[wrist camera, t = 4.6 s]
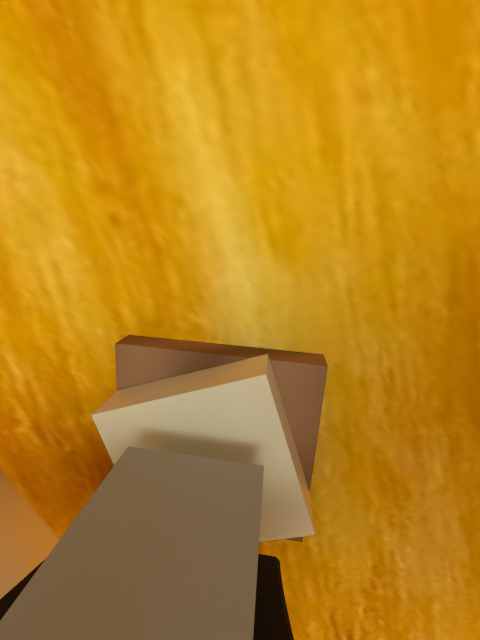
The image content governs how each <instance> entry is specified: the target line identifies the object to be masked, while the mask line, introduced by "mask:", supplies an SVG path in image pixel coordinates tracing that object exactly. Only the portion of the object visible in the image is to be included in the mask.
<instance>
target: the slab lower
mask: <svg viewBox="0 0 480 640" xmlns="http://www.w3.org/2000/svg"><path fill="white" fill-rule="evenodd" d="M115 351H116V376H117V390H121V389H125V388H130V387H134V386H138V385H142V384H146V383H150V382H154V381H158V380H162V379H167V378H171V377H175V376H179V375H183V374H187V373H191V372H195V371H199V370H203V369H208V368H212V367H216V366H220V365H224V364H228V363H232V362H236V361H240V360H244V359H249V358H253V357H257V356H261V355H265V354H268V356H269V359H270V362H271V366H272V369H273V372H274V376H275V379H276V382H277V386H278V389H279V392H280V396H281V399H282V402H283V406H284V409H285V412H286V416H287V419H288V422H289V426H290V429H291V432H292V436H293V439H294V442H295V446H296V449H297V452H298V456H299V459H300V463H301V466H302V469H303V473H304V476H305V479H306V483H307V486H308V489H309V490H310V484H311V477H312V470H313V463H314V456H315V449H316V443H317V436H318V429H319V422H320V415H321V408H322V401H323V395H324V388H325V381H326V374H327V367H328V366H327V363H326V361H325V358H324V355H323V354H313V353H303V352H293V351H283V350H273V349H263V348H254V347H244V346H234V345H224V344H214V343H204V342H194V341H184V340H174V339H164V338H154V337H144V336H134V335H128V336H127V337H125V338H123V339H122V340H120V341H119V342H117V343H115ZM302 538H303V536H302V537H295V538H287V539H288V540H294V541H300V542H302Z"/></svg>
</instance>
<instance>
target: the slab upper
mask: <svg viewBox="0 0 480 640" xmlns="http://www.w3.org/2000/svg"><path fill="white" fill-rule="evenodd" d="M91 416H92V418H93V420H94V422H95V425H96V427H97V429H98V431H99V433H100V436H101V438H102V440H103V442H104V445H105V447H106V449H107V451H108V453H109V456H110V458H111V460H112V462H113V464H114V465H115V464H116V462H117V461H118V460H119V458H120V457H121V456H122V454H123V453H124V451H125V450H126V449H127V447H128V446H129V447H136V448H143V449H150V450H157V451H164V452H172V453H179V454H186V455H193V456H200V457H207V458H214V459H221V460H228V461H235V462H242V463H250V464H257V465H264V473H263V488H262V504H261V520H260V536H259V542H263V541H271V540H279V539H287V538H295V537H302V536H310V535H315V530H314V522H313V514H312V506H311V498H310V492H309V489H308V486H307V483H306V479H305V476H304V473H303V469H302V466H301V463H300V459H299V456H298V452H297V449H296V446H295V442H294V439H293V436H292V432H291V429H290V426H289V422H288V419H287V416H286V412H285V409H284V406H283V402H282V399H281V396H280V392H279V389H278V386H277V382H276V379H275V376H274V372H273V369H272V366H271V362H270V359H269V356H268V354H265V355H261V356H257V357H253V358H249V359H244V360H240V361H236V362H232V363H228V364H224V365H220V366H216V367H212V368H208V369H203V370H199V371H195V372H191V373H187V374H183V375H179V376H175V377H171V378H167V379H162V380H158V381H154V382H150V383H146V384H142V385H138V386H134V387H130V388H125V389H121V390H117V391H116V392H115V393H114V394H113V395H112V396H111V397H110V398H109V399H108V400H106V401H105V402H104V403H103V404H102V405H101V406H100V407H99V408H98V409H97V410H96V411H95V412H94V413H93V414H92V415H91Z"/></svg>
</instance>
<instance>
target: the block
mask: <svg viewBox="0 0 480 640" xmlns="http://www.w3.org/2000/svg"><path fill="white" fill-rule="evenodd" d="M263 473H264V465H257V464H250V463H242V462H235V461H228V460H221V459H214V458H207V457H200V456H193V455H186V454H179V453H172V452H164V451H157V450H150V449H143V448H136V447H129V446H128V447H127V449H126V450H125V451H124V453H123V454H122V456H121V457H120V458H119V460H118V461H117V462H116V464H115V465H114V466H113V468H112V469H111V471H110V472H109V473H108V475H107V476H106V477H105V479H104V480H103V481H102V483H101V484H100V486H99V487H98V488H97V490H96V491H95V492H94V494H93V495H92V496H91V498H90V499H89V501H88V502H87V503H86V505H85V506H84V507H83V509H82V510H81V511H80V513H79V514H78V516H77V517H76V518H75V520H74V521H73V522H72V524H71V525H70V526H69V528H68V529H67V531H66V532H65V533H64V535H63V536H62V537H61V539H60V540H59V541H58V543H57V544H56V546H55V547H54V548H53V550H52V551H51V552H50V554H49V555H48V556H47V558H46V559H45V561H44V562H43V563H42V565H41V566H40V567H39V569H38V570H37V571H36V573H35V574H34V576H33V577H32V578H31V580H30V581H29V582H28V584H27V585H26V586H25V588H24V589H23V591H22V592H21V593H20V595H19V596H18V597H17V599H16V600H15V601H14V603H13V604H12V606H11V607H10V608H9V610H8V611H7V612H6V614H5V615H4V616H3V618H2V619H1V621H0V640H253V631H254V616H255V600H256V584H257V568H258V552H259V536H260V520H261V504H262V488H263Z"/></svg>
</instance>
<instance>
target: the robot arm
mask: <svg viewBox="0 0 480 640" xmlns="http://www.w3.org/2000/svg"><path fill="white" fill-rule="evenodd" d="M44 561H45V560H44ZM44 561H43V562H44ZM43 562H42V563H43ZM42 563H40V565H38V566H37V567H36V568H35V569H34V570H33V571H32V572H31V573H29V574H28V575H27V576H26V577H25V578H24V579H23V580H22V581H20V582H19V583H18V584H17V585H16V586H15V587H14V588H13V589H12V590H10V591H9V592H8V593H7V594H6V595H5V596H4V597H3V598H1V599H0V621H1V619H2V618H3V616H4V615H5V614H6V612H7V611H8V610H9V608H10V607H11V606H12V604H13V603H14V601H15V600H16V599H17V597H18V596H19V595H20V593H21V592H22V591H23V589H24V588H25V586H26V585H27V584H28V582H29V581H30V580H31V578H32V577H33V576H34V574H35V573H36V571H37V570H38V569H39V567H40V566H41V565H42ZM253 640H294V638H293V634H292V630H291V626H290V621H289V617H288V612H287V607H286V602H285V597H284V591H283V585H282V579H281V571H280V561H279V560H278V559H277V557H273V556H267V555H261V554H258V568H257V584H256V600H255V616H254V631H253Z"/></svg>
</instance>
